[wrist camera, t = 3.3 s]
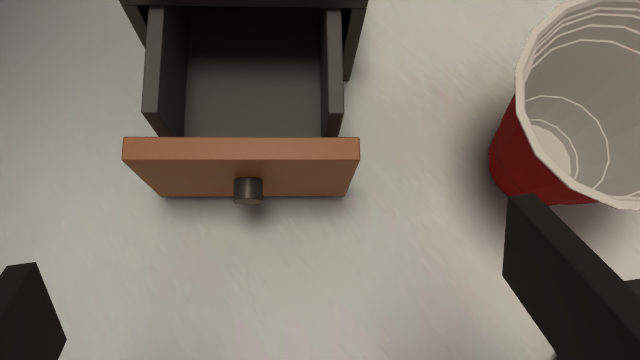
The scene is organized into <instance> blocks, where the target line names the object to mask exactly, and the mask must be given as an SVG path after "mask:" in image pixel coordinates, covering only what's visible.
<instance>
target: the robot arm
mask: <svg viewBox="0 0 640 360" xmlns="http://www.w3.org/2000/svg"><path fill="white" fill-rule="evenodd" d="M502 276H503V277H504V279H505V280H506V281H507V283H508V284H509V286H510V287H511V289H512V290H513V292H514V293H515V294H516V296H517V297H518V299H519V300H520V302H521V303H522V304H523V306H524V307H525V309H526V310H527V312H528V313H529V314H530V316H531V317H532V319H533V320H534V322H535V323H536V325H537V326H538V327H539V329H540V330H541V332H542V333H543V335H544V336H545V337H546V339H547V340H548V342H549V343H550V345H551V346H552V348H553V349H554V350H555V352H556V353H557V355H558V356H559V358H560V359H561V360H640V279H635V280H628V281H623V280H622V279H621V278H620V277H619V276H618V275H617V274H616V273H615V272H614V271H613V270H612V269H611V268H610V267H609V266H608V265H607V264H606V263H605V262H604V261H603V260H602V259H601V258H600V257H599V256H598V255H597V254H596V253H595V252H594V251H593V250H592V249H591V248H590V247H589V246H588V245H587V244H586V243H584V242H583V241H582V240H581V239H580V238H579V237H578V236H577V235H576V234H575V233H574V232H573V231H572V230H571V229H570V228H569V227H568V226H567V225H566V224H565V223H564V222H563V221H562V220H561V219H560V218H559V217H558V216H557V215H556V214H555V213H554V212H553V211H552V210H551V209H550V208H549V207H548V206H547V205H546V204H545V203H544V202H543V201H542V200H541V199H540V198H539V197H538V196H537V195H536V194H535V193H529V194H522V195H515V196H508V201H507V215H506V229H505V243H504V257H503V271H502ZM66 340H67V339H66V336H65V334H64V331H63V329H62V326H61V324H60V321H59V319H58V316H57V314H56V311H55V309H54V306H53V304H52V301H51V299H50V296H49V294H48V291H47V289H46V286H45V284H44V281H43V279H42V276H41V274H40V271H39V269H38V266H37V264H36V262H32V263H25V264H18V265H11V266H6V268H5V269H4V271H3V272H2V274H1V275H0V360H58V358H59V356H60V354H61V352H62V349H63V347H64V345H65V342H66Z"/></svg>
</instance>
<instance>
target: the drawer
mask: <svg viewBox="0 0 640 360" xmlns="http://www.w3.org/2000/svg"><path fill="white" fill-rule="evenodd" d="M141 113H142V114H143V115H144V117H145V118H146V120H147V121H148V122H149V124H150V125H151V127H152V128H153V129H154V131H155V132H156V133H157V135H158V136H159V137H124V138H123V148H122V161H123V162H124V163H125V164H126V165H128V166H129V167H130V168H131V169H132V170H133V171H134V172H135V173H136V174H137V175H138V176H139V177H140V178H141V179H142V180H143V181H144V182H145V183H147V184H148V185H149V186H150V187H151V188H152V189H153V190H154V191H155V192H156V193H157V194H158V195H159V196H161V197H164V196H233V202H234V203H237V204H242V205H255V204H260V203H262V202H263V196H345V194H346V192H347V189H348V187H349V185H350V182H351V180H352V177H353V175H354V173H355V170H356V168H357V166H358V163H359V161H360V139H359V137H338V135H339V131H340V127H341V123H342V119H343V115H344V90H343V55H342V20H341V8H310V7H243V6H177V5H149V11H148V24H147V38H146V52H145V66H144V79H143V93H142V107H141Z"/></svg>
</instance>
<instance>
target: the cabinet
mask: <svg viewBox="0 0 640 360" xmlns="http://www.w3.org/2000/svg"><path fill="white" fill-rule="evenodd" d="M119 1H120V3H121V4H122V7H123V9H124V11H125V13H126V14H127V16H128V18H129V20H130V22H131V24H132V26H133V27H134V29H135V31H136V33H137V35H138V37H139V39H140V40H141V42H142V44H143V46H144V48H145V50H146V38H147V24H148V11H149V5H177V6H243V7H310V8H341V20H342V55H343V81H349V80H350V75H351V72H352V67H353V63H354V59H355V55H356V51H357V47H358V42H359V38H360V34H361V30H362V26H363V22H364V17H365V13H366V9H367V4H368V0H119Z"/></svg>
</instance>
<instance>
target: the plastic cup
mask: <svg viewBox="0 0 640 360" xmlns="http://www.w3.org/2000/svg"><path fill="white" fill-rule="evenodd" d="M488 154H489V170H490V172H491V174H492V177H493V179H494V181H495V183H496V185H497V186H498V187H499V188H500V189H501V190H502V191H503V192H504V193H505V194H506V195H507V196H515V195H522V194H529V193H535V194H536V195H537V196H538V197H539V198H540V199H541V200H542V201H543V202H544V203H545V204H546V205H547V206H548V205H556V204H565V205H571V204H583V203H595V202H601V203H604V204H606V205H608V206H611V207H613V208H616V209H632V210H640V0H568V1H565V2H562V3H561V4H560V5H559V6H558V7H557V8H556V9H554V10H553V11H552V12H551V13H550V14H549V15H548V16H547V17H546V18H544V19H543V20H542V21H541V22H540V23H539V24H538V25H537V26H536V27H535V28H533V29H532V30H531V32H530V35H529V37H528V39H527V42H526V44H525V46H524V49H523V51H522V53H521V56H520V58H519V60H518V63H517V65H516V68H515V94H514V96H513V98H512V100H511V102H510V104H509V106H508V108H507V110H506V112H505V114H504V116H503V118H502V121H501V123H500V126H499V128H498V130H497V131H496V133H495V135H494V138H493V140H492V143H491V145H490V148H489V153H488Z"/></svg>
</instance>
